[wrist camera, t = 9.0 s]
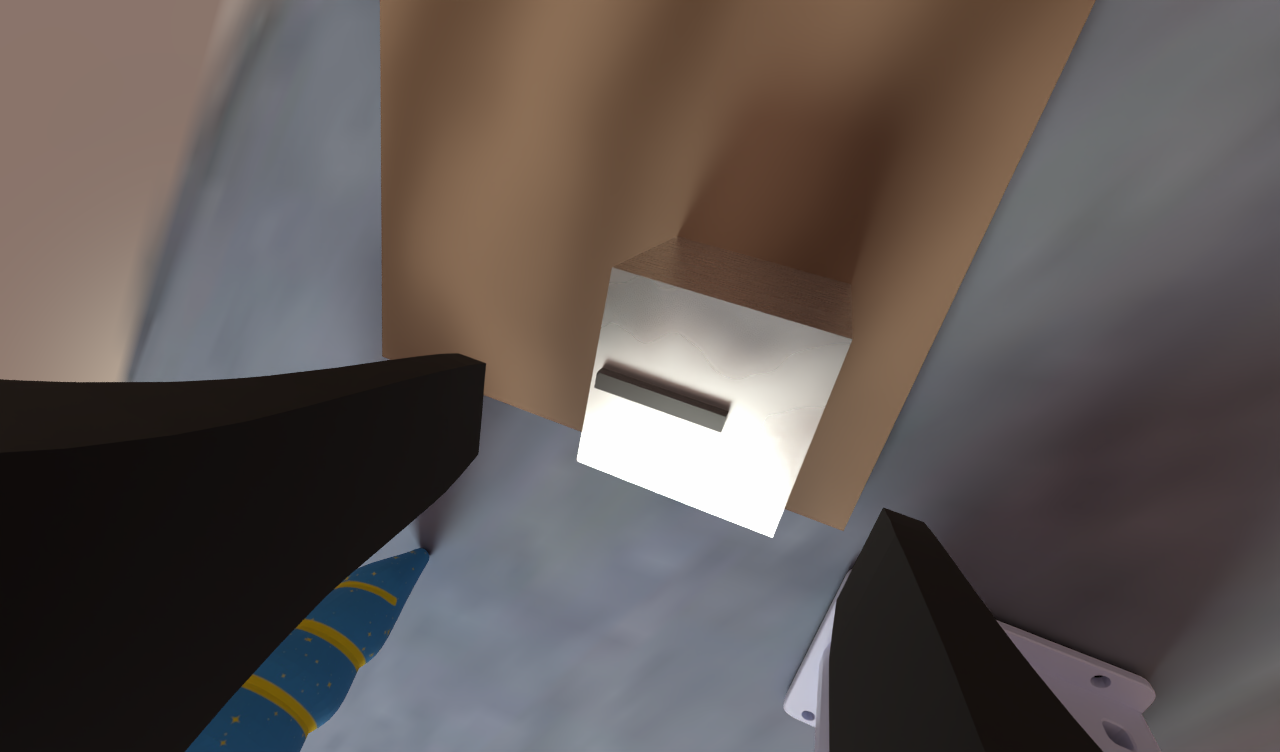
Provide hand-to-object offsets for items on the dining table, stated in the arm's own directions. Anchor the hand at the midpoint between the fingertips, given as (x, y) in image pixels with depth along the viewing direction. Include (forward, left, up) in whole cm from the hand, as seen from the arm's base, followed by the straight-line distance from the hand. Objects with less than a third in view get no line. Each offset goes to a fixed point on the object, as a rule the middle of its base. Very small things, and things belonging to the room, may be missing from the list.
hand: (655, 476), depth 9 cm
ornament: (+12, +16, -10) cm, 22 cm away
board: (+4, -3, -9) cm, 11 cm away
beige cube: (0, 0, -8) cm, 8 cm away
